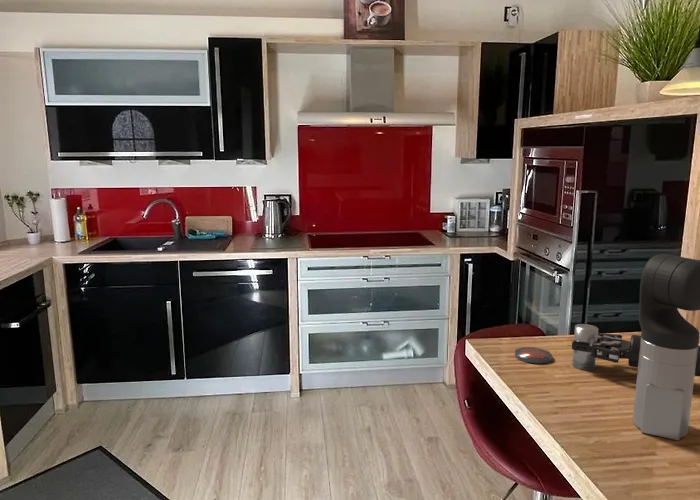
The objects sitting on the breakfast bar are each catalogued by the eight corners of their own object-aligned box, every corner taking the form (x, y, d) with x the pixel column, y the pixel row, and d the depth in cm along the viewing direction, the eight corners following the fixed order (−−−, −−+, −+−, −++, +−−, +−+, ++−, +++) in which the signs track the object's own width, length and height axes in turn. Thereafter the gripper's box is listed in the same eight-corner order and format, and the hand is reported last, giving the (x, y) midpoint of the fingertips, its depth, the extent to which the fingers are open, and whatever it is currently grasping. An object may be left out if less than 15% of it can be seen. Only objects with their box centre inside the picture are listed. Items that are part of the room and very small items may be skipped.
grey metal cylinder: (593, 372, 126) (597, 332, 124) (570, 367, 129) (573, 328, 127) (596, 364, 131) (599, 326, 129) (573, 360, 133) (576, 322, 131)
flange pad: (548, 366, 129) (548, 362, 129) (511, 359, 134) (511, 355, 134) (554, 354, 137) (554, 350, 137) (518, 348, 141) (519, 344, 141)
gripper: (654, 329, 127) (578, 318, 135) (654, 348, 115) (570, 335, 123) (651, 358, 128) (576, 346, 137) (650, 380, 116) (568, 365, 124)
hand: (574, 341), depth 130 cm, fingers closed on grey metal cylinder, 5 cm apart
